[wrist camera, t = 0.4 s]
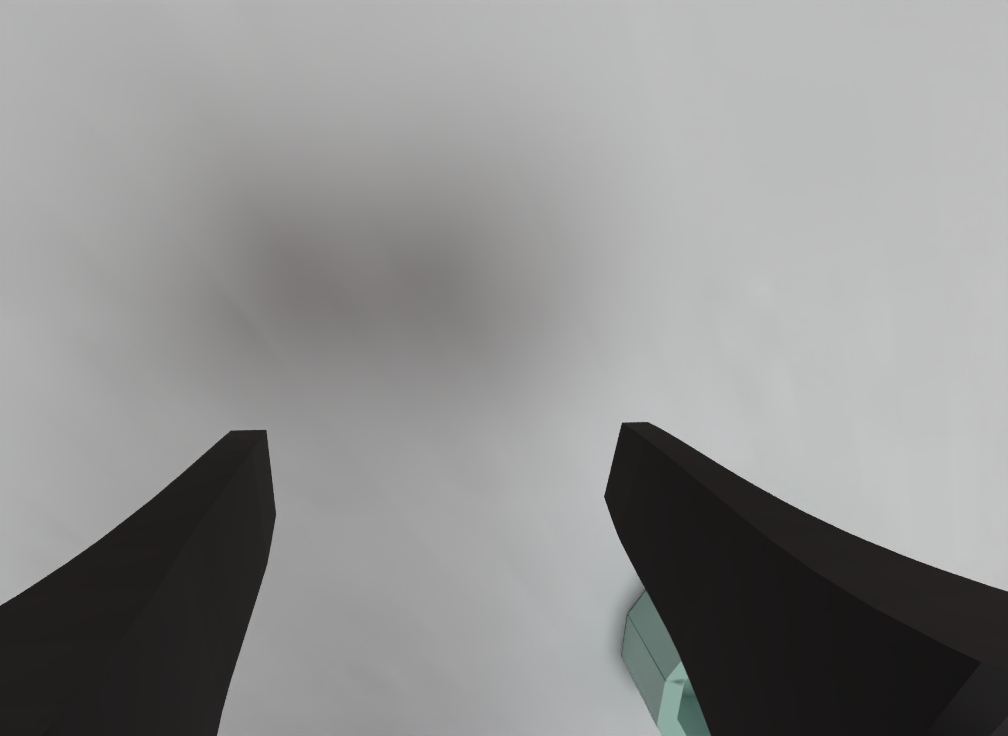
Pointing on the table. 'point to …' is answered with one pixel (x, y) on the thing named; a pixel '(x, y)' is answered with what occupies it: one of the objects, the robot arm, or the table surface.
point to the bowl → (660, 673)
